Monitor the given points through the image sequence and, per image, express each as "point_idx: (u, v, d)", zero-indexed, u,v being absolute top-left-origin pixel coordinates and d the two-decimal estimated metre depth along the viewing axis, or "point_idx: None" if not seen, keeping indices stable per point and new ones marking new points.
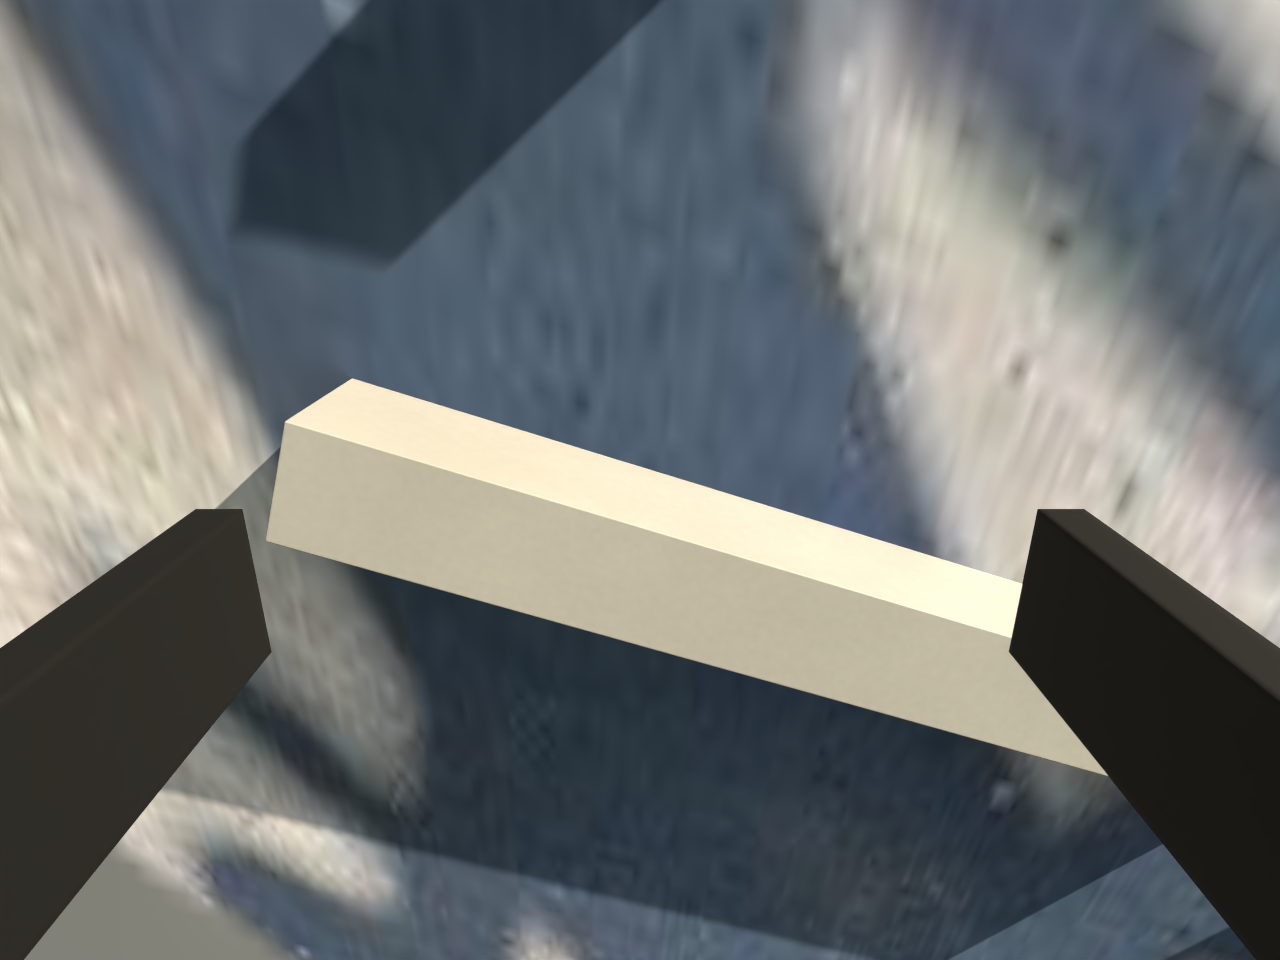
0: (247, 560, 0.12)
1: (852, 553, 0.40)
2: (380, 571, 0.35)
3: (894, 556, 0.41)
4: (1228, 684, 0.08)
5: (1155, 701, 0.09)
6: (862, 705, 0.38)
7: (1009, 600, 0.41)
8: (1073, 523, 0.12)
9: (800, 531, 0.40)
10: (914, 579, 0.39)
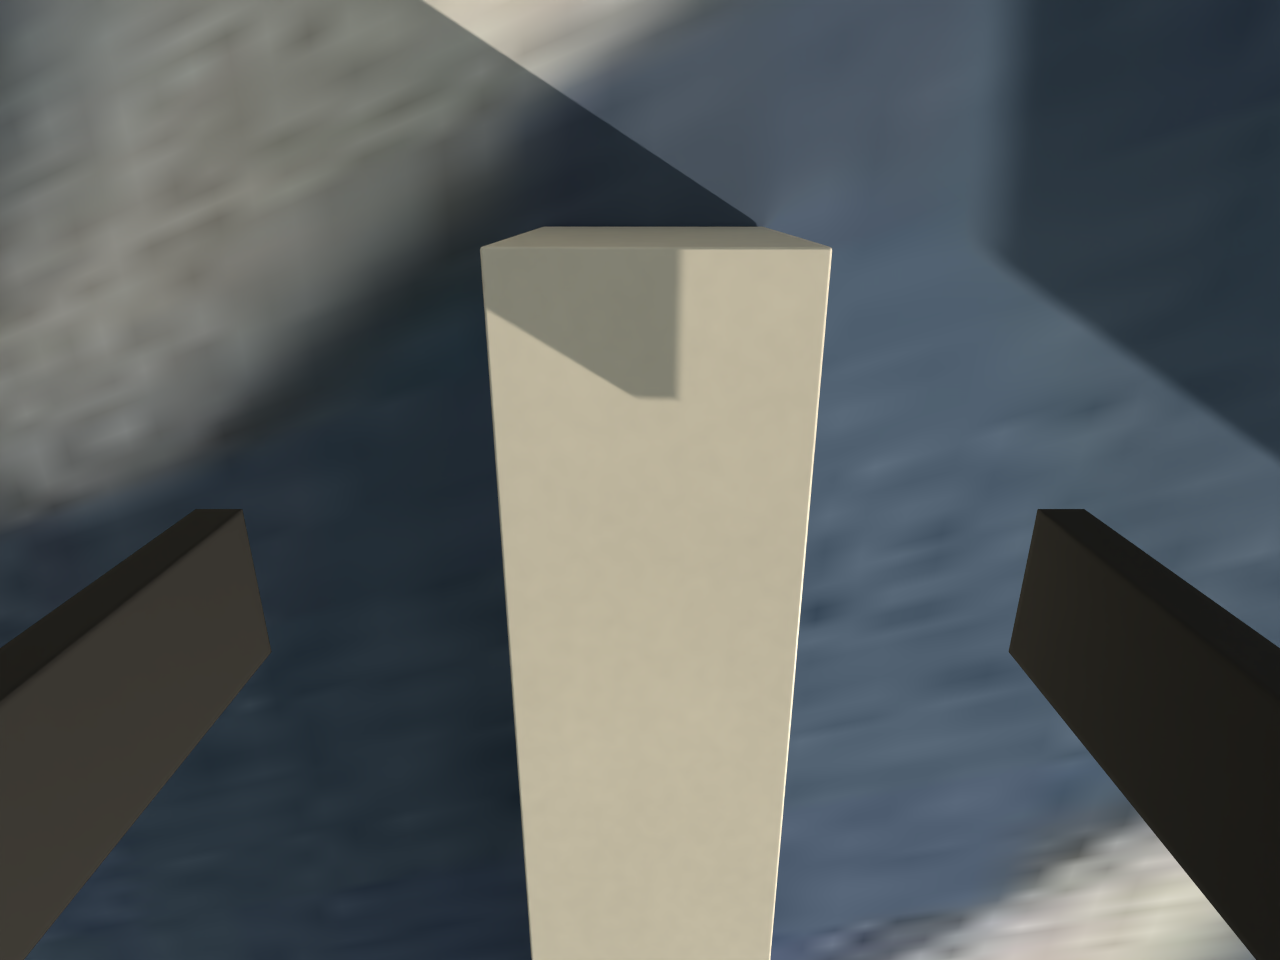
0: (247, 560, 0.12)
1: None
2: (505, 532, 0.15)
3: None
4: (1229, 684, 0.08)
5: (1155, 701, 0.09)
6: None
7: None
8: (1073, 523, 0.12)
9: None
10: None
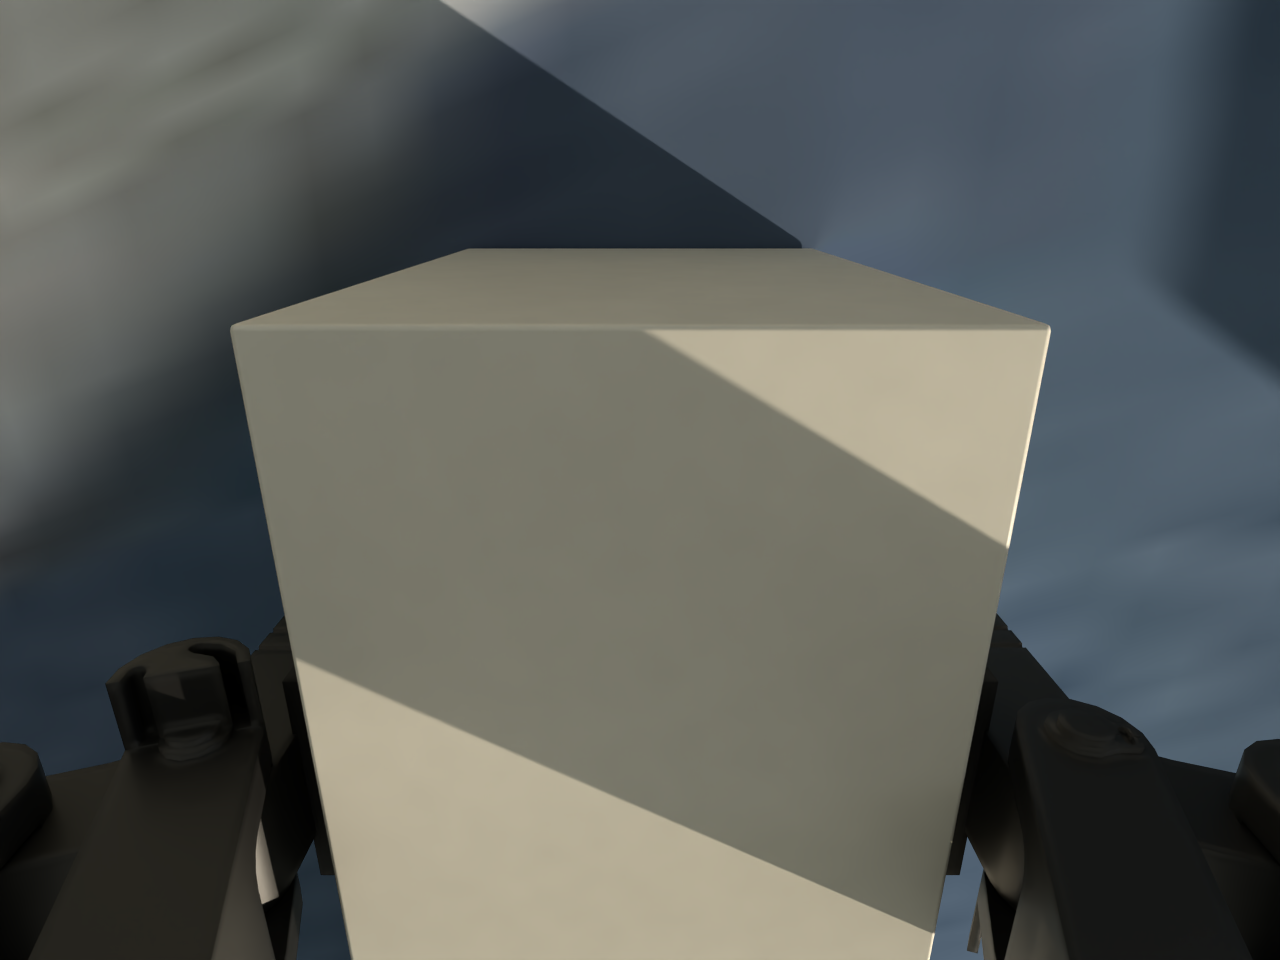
0: None
1: None
2: (344, 875, 0.07)
3: None
4: None
5: None
6: None
7: None
8: None
9: None
10: None
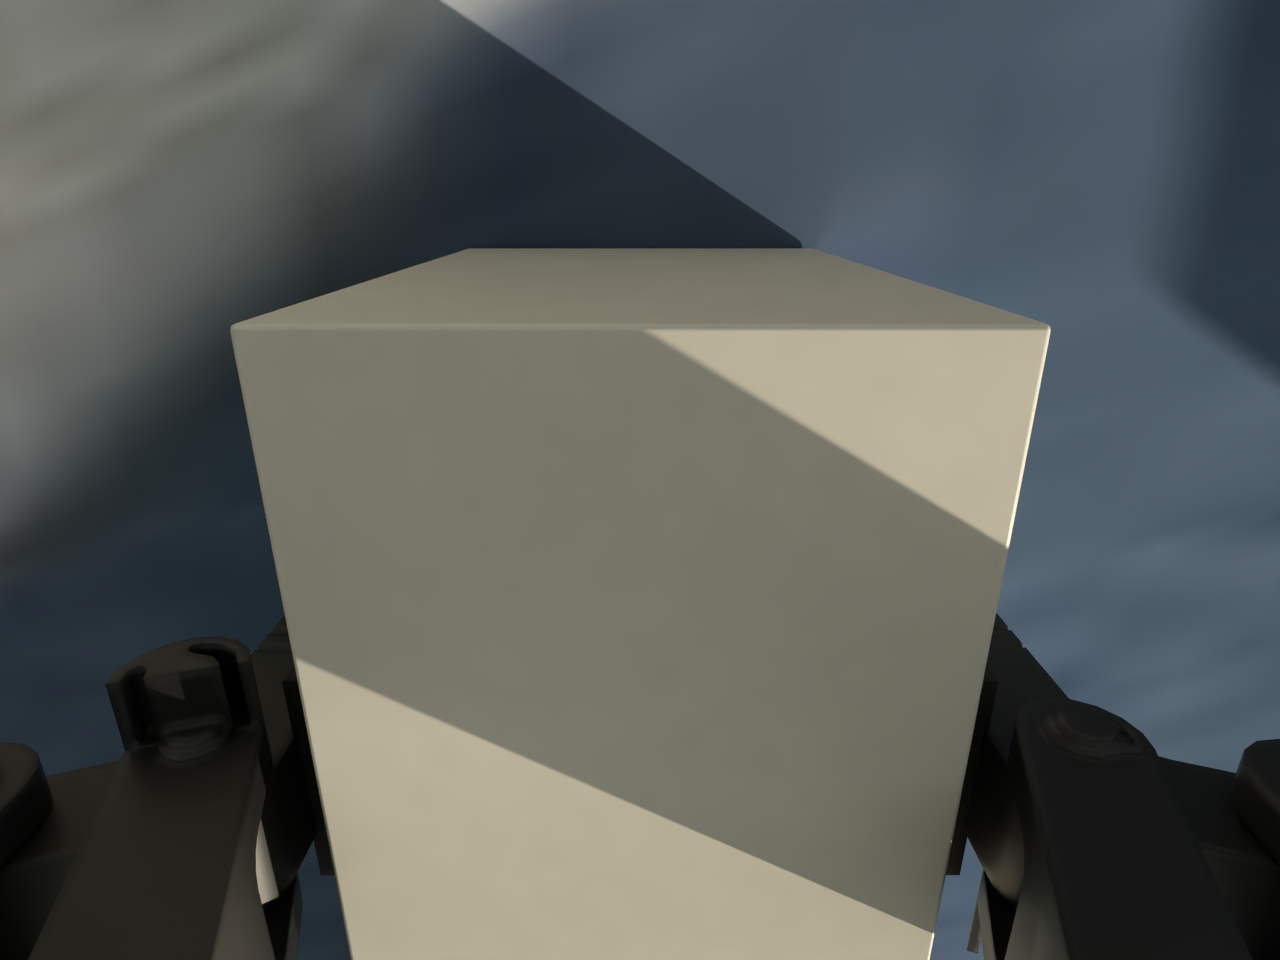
0: None
1: None
2: (343, 875, 0.07)
3: None
4: None
5: None
6: None
7: None
8: None
9: None
10: None
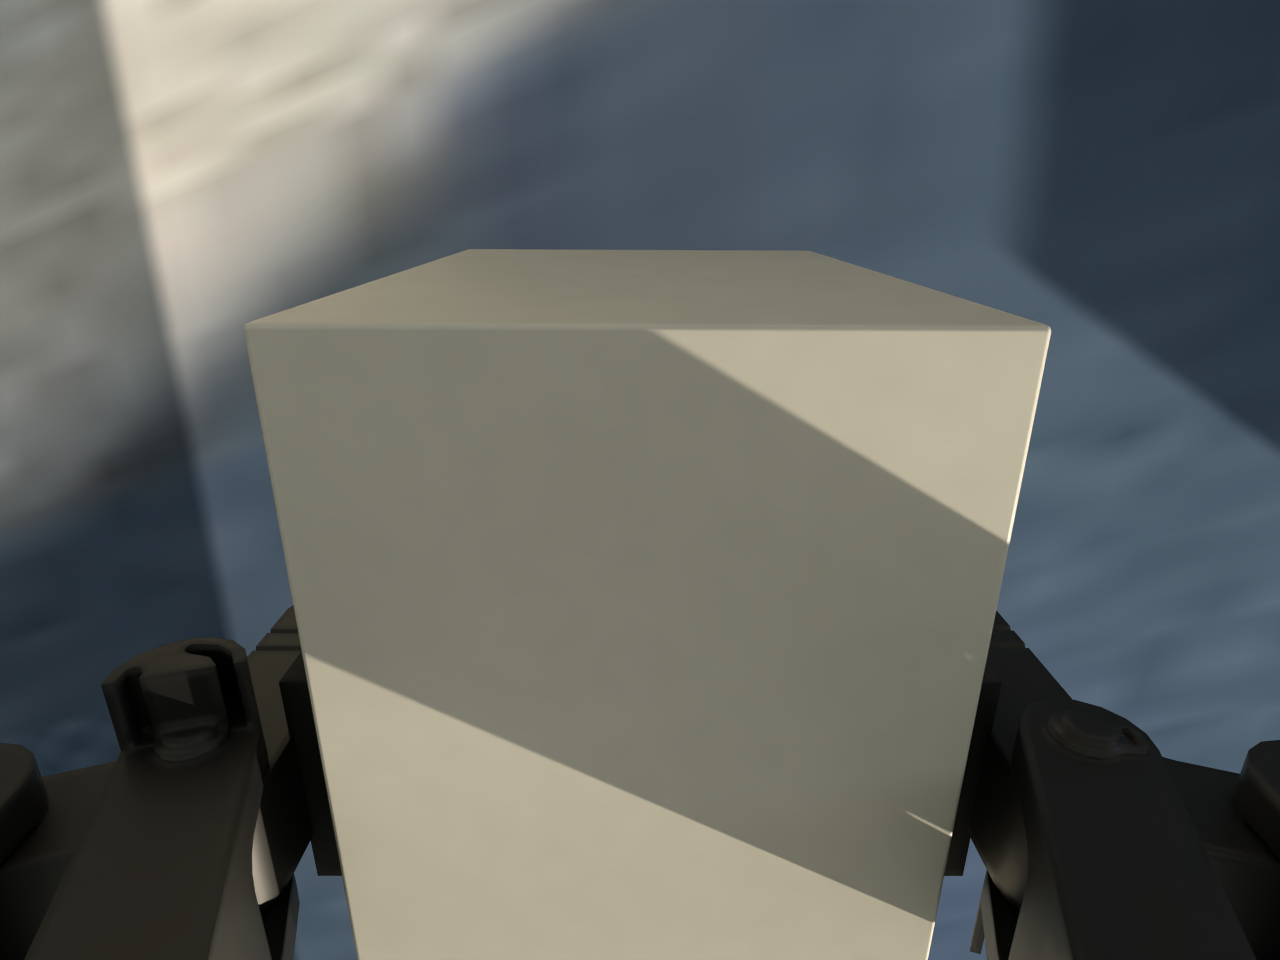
0: None
1: None
2: (350, 870, 0.07)
3: None
4: None
5: None
6: None
7: None
8: None
9: None
10: None
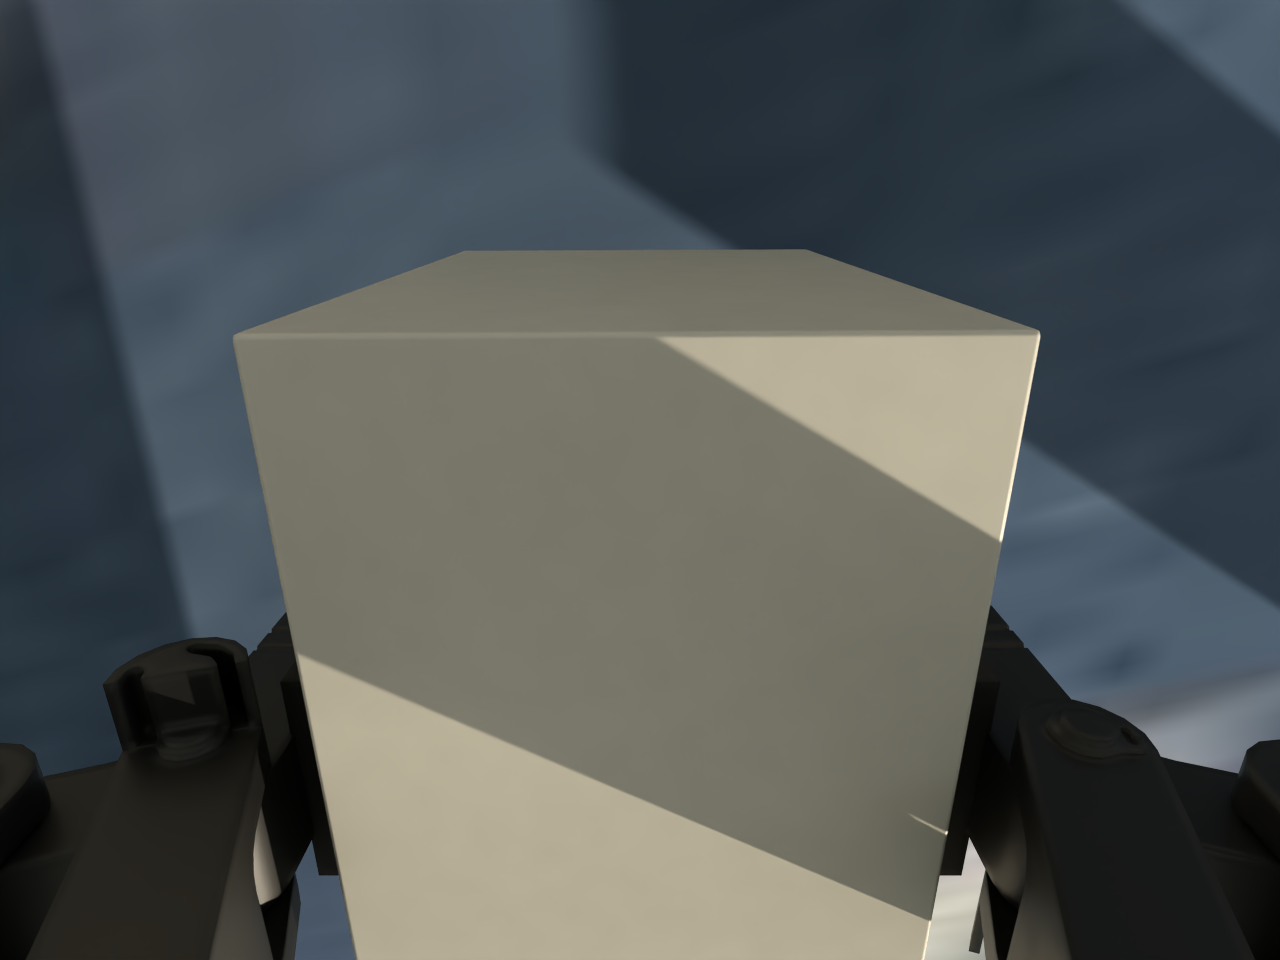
0: None
1: None
2: (347, 874, 0.07)
3: None
4: None
5: None
6: None
7: None
8: None
9: None
10: None
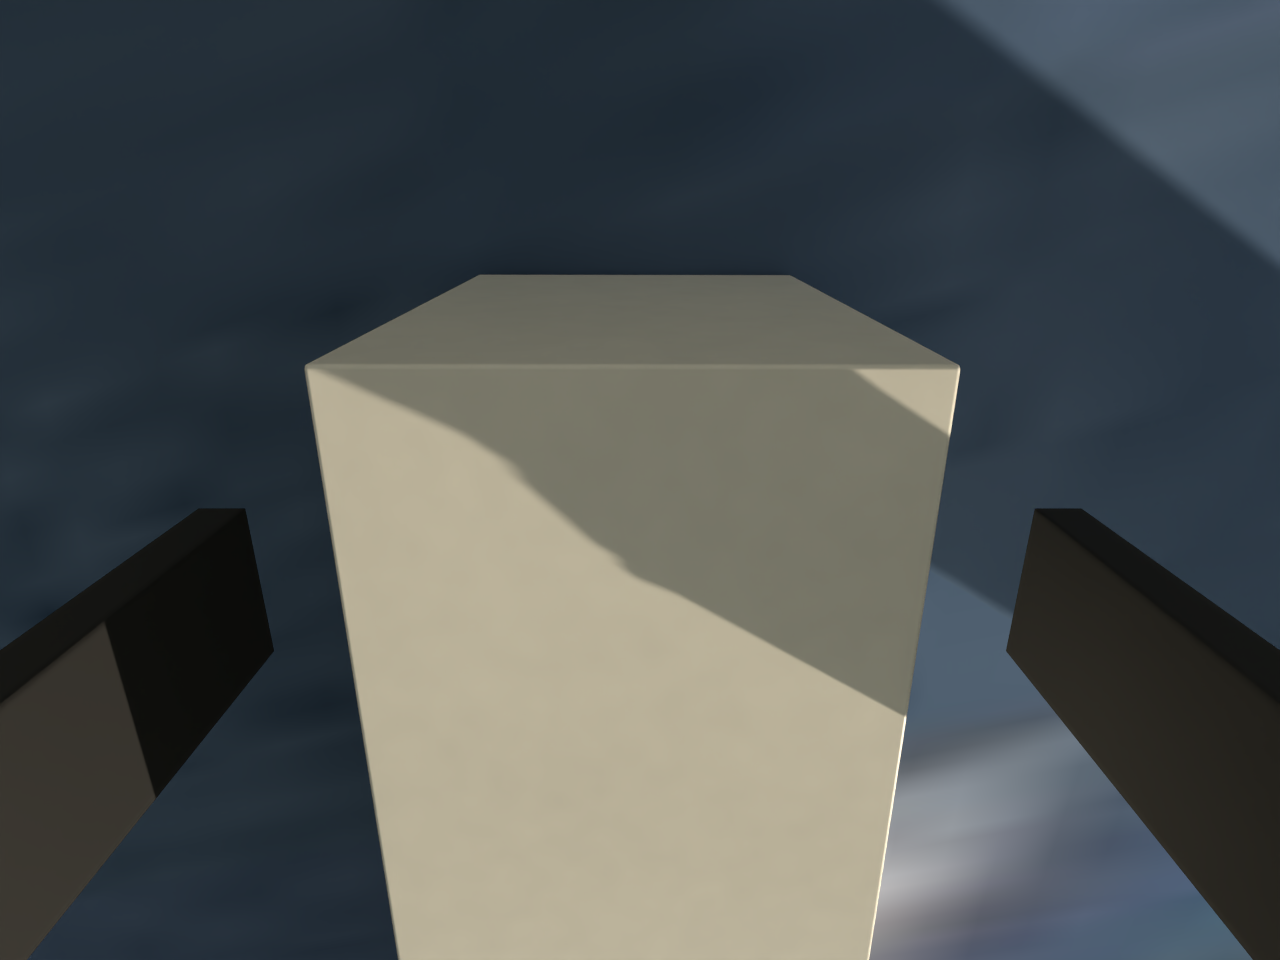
0: (249, 559, 0.12)
1: None
2: (383, 821, 0.09)
3: None
4: (1224, 683, 0.08)
5: (1151, 700, 0.09)
6: None
7: None
8: (1070, 523, 0.12)
9: None
10: None
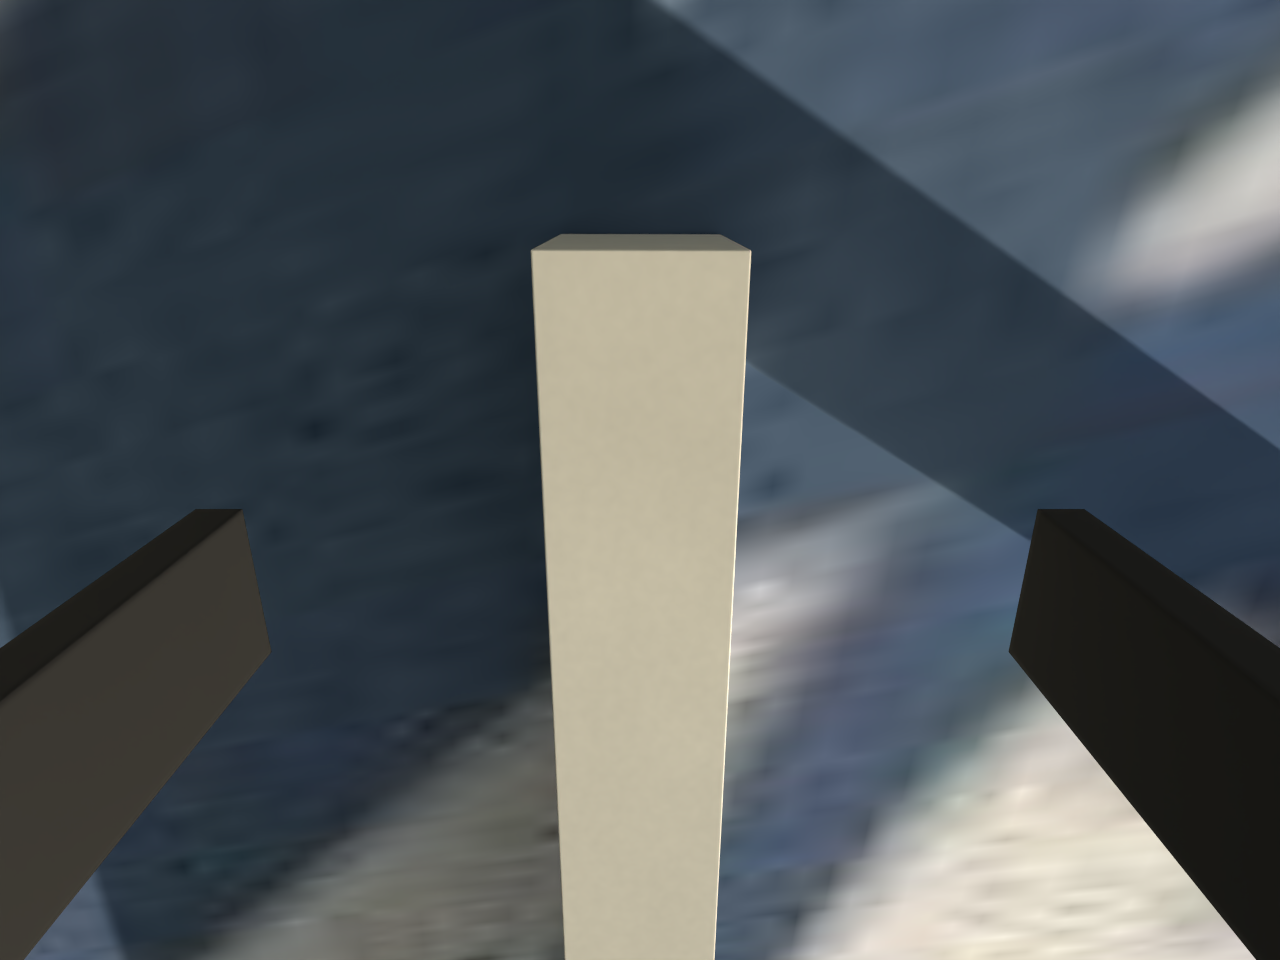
0: (247, 560, 0.12)
1: None
2: (543, 437, 0.22)
3: None
4: (1228, 684, 0.08)
5: (1155, 701, 0.09)
6: None
7: None
8: (1073, 523, 0.12)
9: None
10: None
